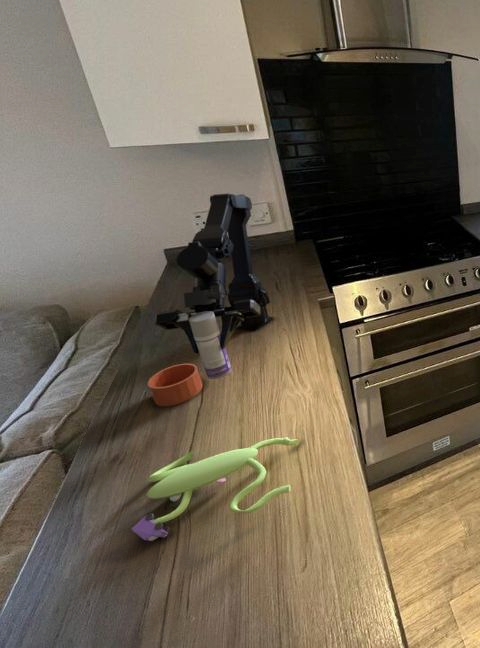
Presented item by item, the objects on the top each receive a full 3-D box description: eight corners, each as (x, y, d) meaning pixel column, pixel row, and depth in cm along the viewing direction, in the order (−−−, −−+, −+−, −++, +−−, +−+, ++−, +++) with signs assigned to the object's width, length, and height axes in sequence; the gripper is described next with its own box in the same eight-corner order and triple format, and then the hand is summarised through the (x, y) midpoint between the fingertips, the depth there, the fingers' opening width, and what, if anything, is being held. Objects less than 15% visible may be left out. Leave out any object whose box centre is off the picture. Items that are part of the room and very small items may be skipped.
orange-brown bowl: (183, 377, 109) (177, 360, 107) (212, 383, 107) (206, 366, 105) (144, 402, 100) (137, 384, 99) (175, 409, 98) (168, 391, 97)
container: (216, 366, 103) (198, 310, 97) (236, 366, 103) (219, 310, 97) (202, 379, 98) (182, 322, 93) (223, 379, 98) (204, 322, 93)
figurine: (286, 526, 73) (279, 502, 71) (101, 557, 68) (87, 533, 66) (316, 441, 90) (311, 420, 88) (169, 461, 85) (160, 439, 83)
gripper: (143, 279, 92) (137, 353, 87) (245, 267, 98) (246, 334, 93) (168, 295, 102) (165, 362, 96) (260, 283, 108) (261, 345, 103)
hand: (209, 351), depth 97 cm, fingers closed on container, 4 cm apart
